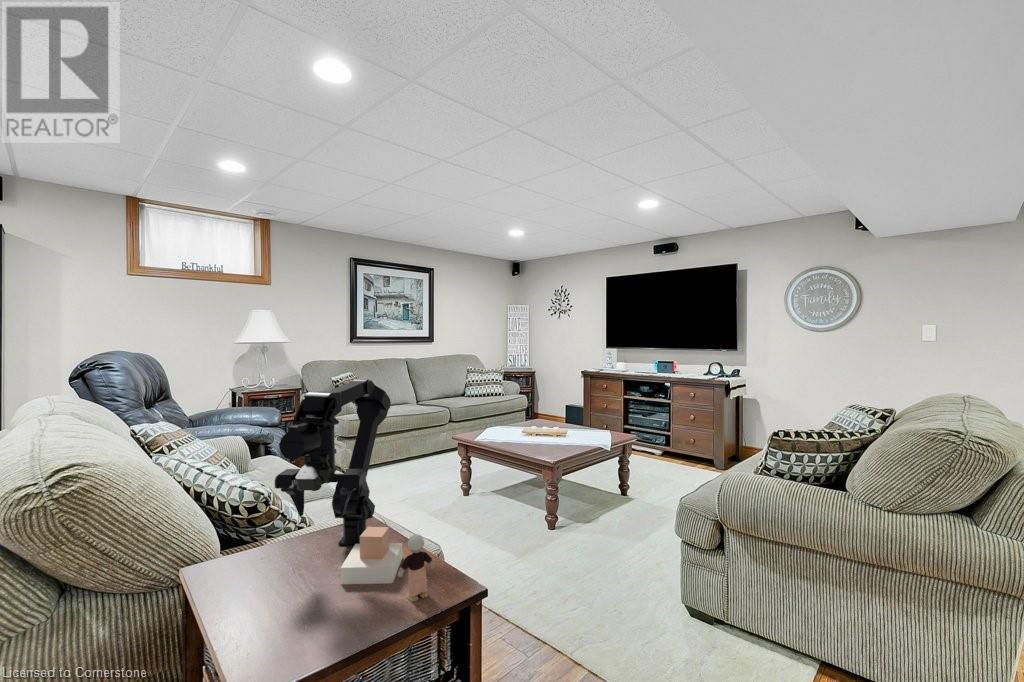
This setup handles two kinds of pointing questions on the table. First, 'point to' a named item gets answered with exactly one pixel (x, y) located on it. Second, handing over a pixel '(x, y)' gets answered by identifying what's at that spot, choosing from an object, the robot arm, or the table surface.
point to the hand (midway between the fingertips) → (321, 515)
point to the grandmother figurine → (416, 568)
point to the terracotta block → (374, 543)
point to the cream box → (371, 567)
